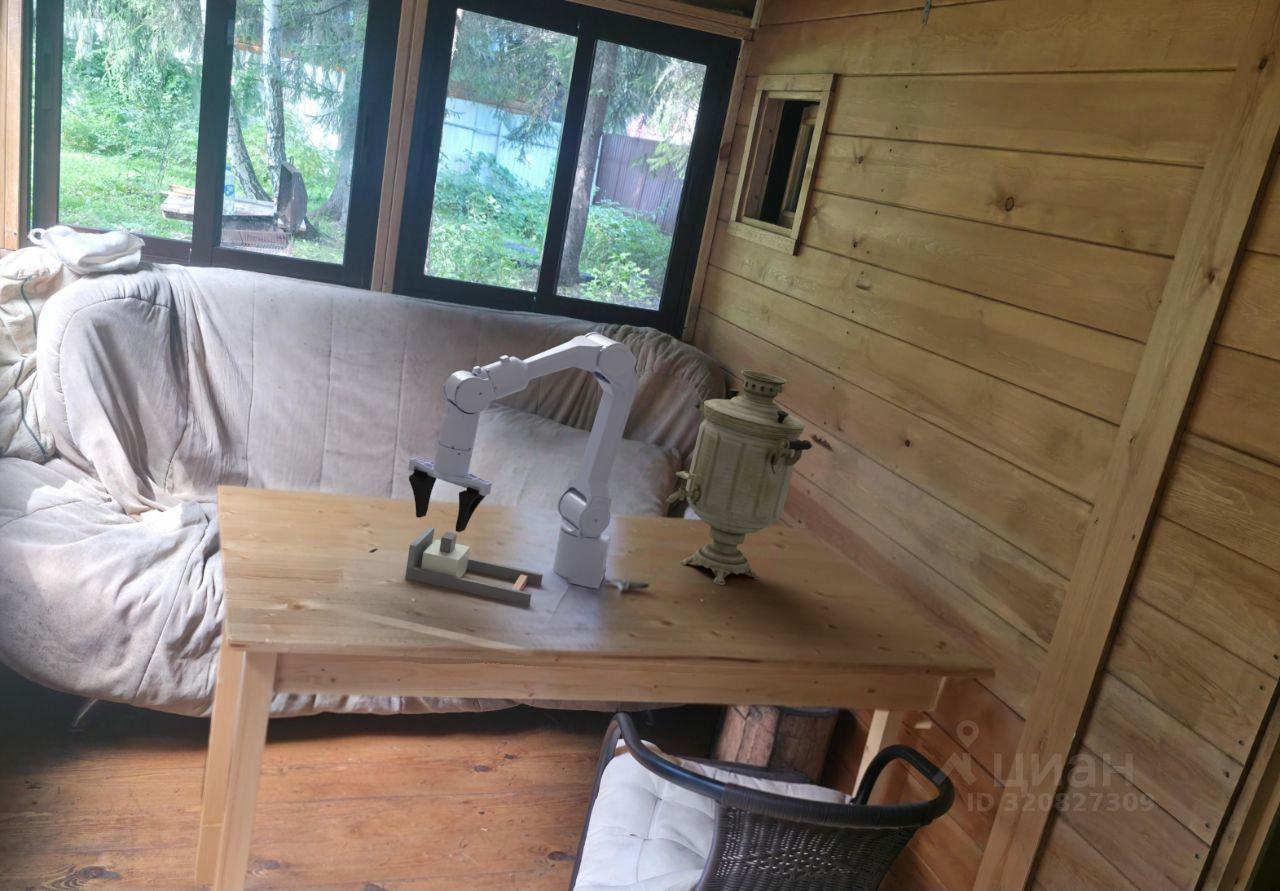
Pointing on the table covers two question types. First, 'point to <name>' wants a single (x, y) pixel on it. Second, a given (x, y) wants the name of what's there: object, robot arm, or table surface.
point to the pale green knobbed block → (446, 556)
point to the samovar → (740, 470)
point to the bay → (473, 565)
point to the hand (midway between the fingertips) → (440, 523)
